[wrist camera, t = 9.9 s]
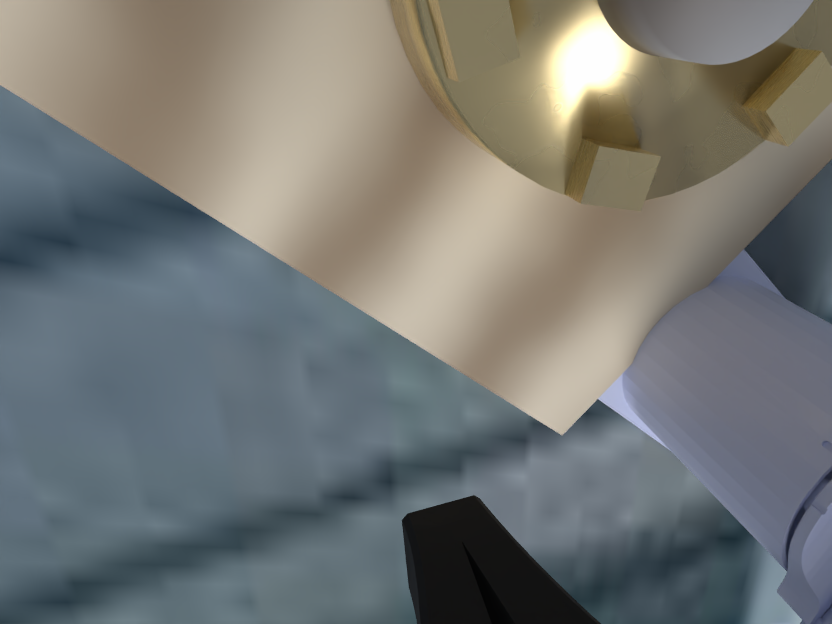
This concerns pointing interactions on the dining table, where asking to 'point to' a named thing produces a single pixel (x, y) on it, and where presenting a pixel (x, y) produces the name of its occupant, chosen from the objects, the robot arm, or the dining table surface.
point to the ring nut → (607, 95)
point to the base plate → (408, 173)
